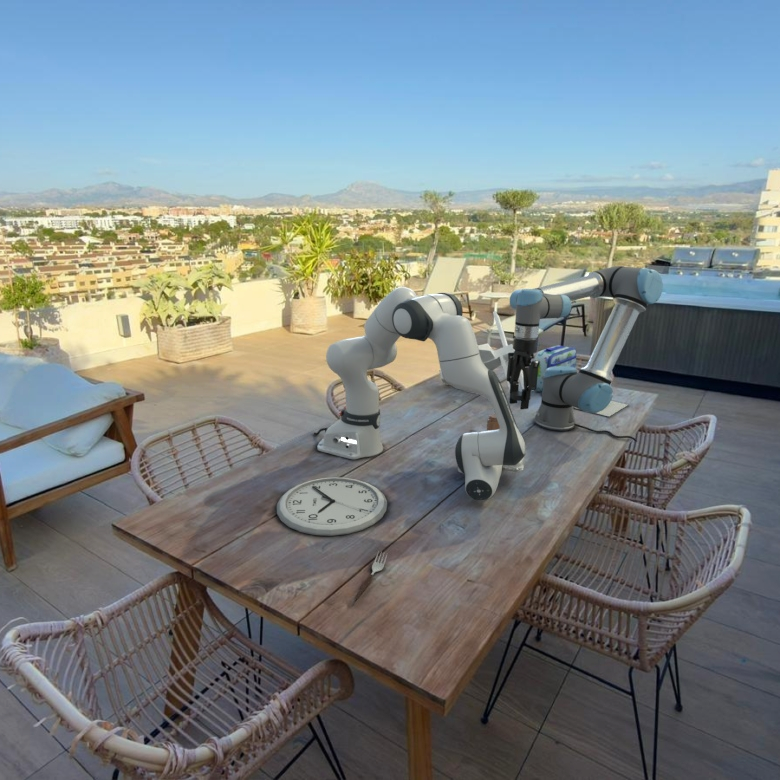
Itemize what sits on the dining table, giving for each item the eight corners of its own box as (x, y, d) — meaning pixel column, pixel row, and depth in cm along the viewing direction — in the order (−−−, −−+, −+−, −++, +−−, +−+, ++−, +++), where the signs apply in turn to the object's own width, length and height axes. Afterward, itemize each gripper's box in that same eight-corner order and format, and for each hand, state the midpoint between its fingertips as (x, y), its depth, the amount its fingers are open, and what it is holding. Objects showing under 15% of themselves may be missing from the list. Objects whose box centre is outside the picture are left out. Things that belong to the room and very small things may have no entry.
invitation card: (608, 416, 214) (573, 407, 224) (608, 416, 214) (573, 408, 224) (628, 404, 229) (594, 396, 238) (628, 405, 229) (594, 397, 238)
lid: (525, 401, 171) (526, 396, 171) (509, 399, 174) (510, 394, 173) (529, 397, 176) (529, 392, 176) (513, 395, 178) (513, 390, 178)
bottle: (484, 464, 169) (488, 412, 164) (499, 466, 168) (503, 414, 163) (483, 470, 165) (487, 417, 160) (498, 472, 164) (502, 419, 159)
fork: (349, 601, 106) (348, 593, 105) (377, 557, 120) (377, 550, 120) (360, 605, 105) (360, 596, 105) (388, 560, 119) (388, 552, 119)
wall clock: (392, 527, 129) (268, 531, 127) (391, 533, 130) (269, 537, 127) (383, 473, 158) (282, 475, 155) (383, 478, 158) (282, 480, 156)
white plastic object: (461, 429, 252) (437, 405, 227) (444, 352, 274) (420, 323, 250) (535, 404, 240) (518, 377, 215) (510, 326, 262) (492, 293, 237)
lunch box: (548, 398, 236) (553, 353, 229) (527, 393, 243) (531, 349, 237) (575, 387, 253) (581, 344, 247) (555, 382, 260) (560, 341, 254)
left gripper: (524, 461, 149) (527, 443, 162) (453, 451, 155) (462, 434, 167) (522, 481, 151) (525, 462, 163) (452, 470, 157) (460, 453, 169)
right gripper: (499, 333, 175) (493, 399, 182) (534, 344, 159) (527, 416, 166) (517, 332, 178) (511, 396, 185) (554, 342, 162) (545, 413, 169)
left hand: (493, 448), depth 165 cm, fingers closed on bottle, 4 cm apart
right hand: (518, 405), depth 176 cm, fingers closed on lid, 5 cm apart
